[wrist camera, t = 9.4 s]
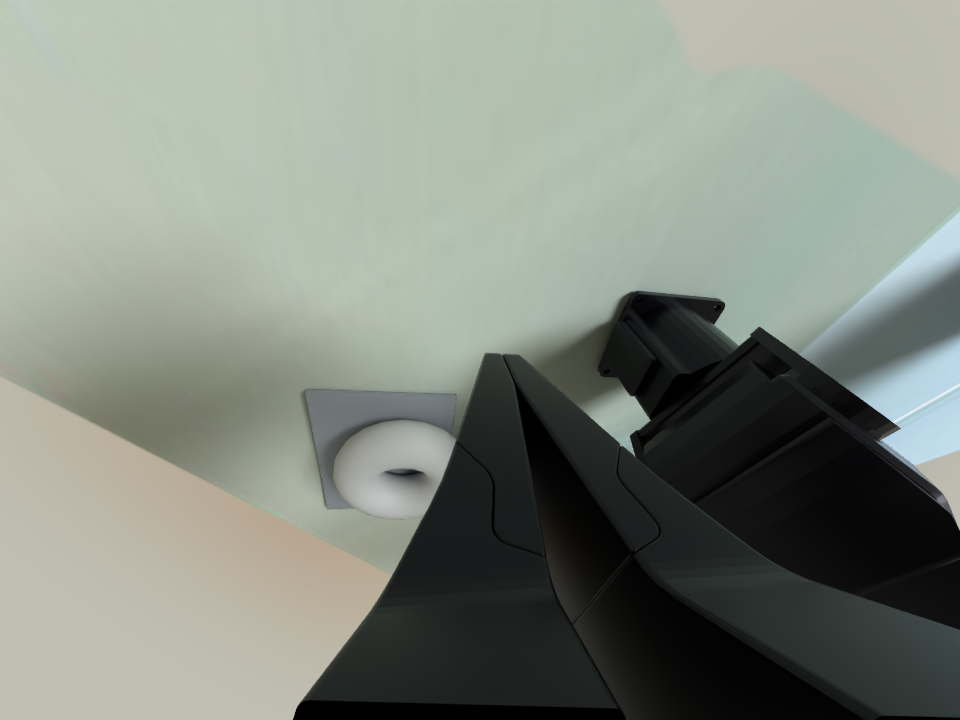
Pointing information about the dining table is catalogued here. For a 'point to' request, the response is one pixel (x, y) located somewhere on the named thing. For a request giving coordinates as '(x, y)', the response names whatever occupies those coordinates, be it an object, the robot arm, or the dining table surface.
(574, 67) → the dining table surface
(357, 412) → the mat
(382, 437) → the donut
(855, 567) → the robot arm
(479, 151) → the dining table surface
